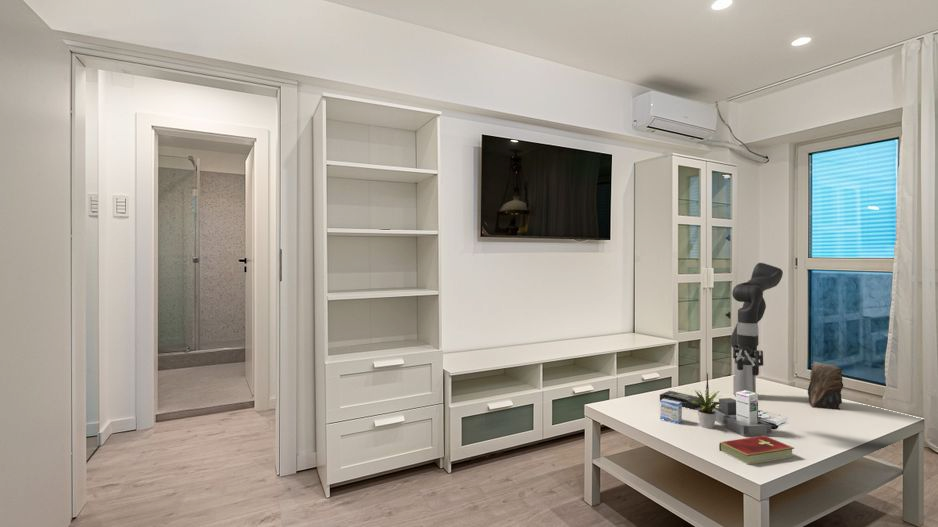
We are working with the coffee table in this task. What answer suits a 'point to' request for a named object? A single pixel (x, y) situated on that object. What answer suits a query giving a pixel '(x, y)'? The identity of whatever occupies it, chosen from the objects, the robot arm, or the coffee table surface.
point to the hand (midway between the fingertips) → (747, 372)
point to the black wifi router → (683, 398)
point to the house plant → (707, 410)
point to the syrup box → (747, 407)
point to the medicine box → (671, 410)
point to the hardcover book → (756, 449)
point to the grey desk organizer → (729, 420)
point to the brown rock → (825, 386)
